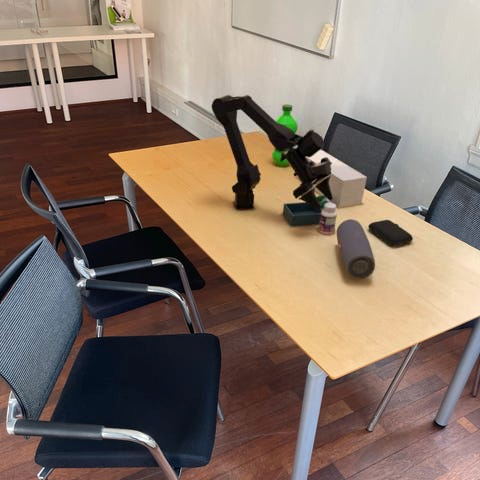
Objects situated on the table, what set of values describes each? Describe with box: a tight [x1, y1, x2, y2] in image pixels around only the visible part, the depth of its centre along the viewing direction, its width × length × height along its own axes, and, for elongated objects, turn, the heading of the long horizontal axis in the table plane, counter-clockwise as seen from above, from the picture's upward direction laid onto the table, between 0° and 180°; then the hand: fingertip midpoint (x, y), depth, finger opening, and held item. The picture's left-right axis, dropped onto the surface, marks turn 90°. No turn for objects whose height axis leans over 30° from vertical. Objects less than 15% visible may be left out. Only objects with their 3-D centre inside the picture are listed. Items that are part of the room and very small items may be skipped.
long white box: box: [296, 149, 368, 209], centre depth 188 cm, size 32×11×11 cm, turn 25°
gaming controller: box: [316, 195, 331, 210], centre depth 179 cm, size 9×4×6 cm
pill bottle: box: [318, 203, 338, 235], centre depth 161 cm, size 5×5×10 cm
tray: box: [282, 201, 323, 227], centre depth 169 cm, size 12×10×4 cm
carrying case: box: [367, 219, 414, 247], centre depth 161 cm, size 11×3×15 cm
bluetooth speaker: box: [336, 218, 376, 280], centre depth 144 cm, size 23×9×10 cm, turn 178°
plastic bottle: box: [271, 103, 298, 167], centre depth 205 cm, size 10×10×25 cm
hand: (326, 204), depth 158 cm, fingers open, 9 cm apart
